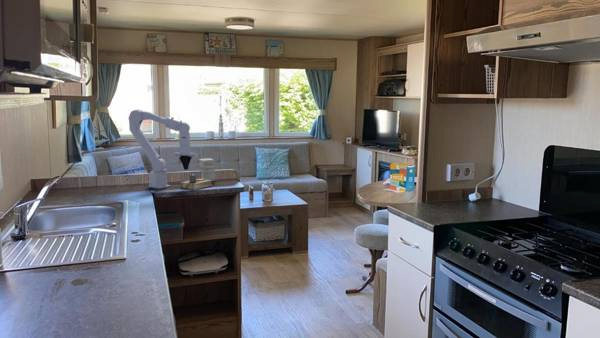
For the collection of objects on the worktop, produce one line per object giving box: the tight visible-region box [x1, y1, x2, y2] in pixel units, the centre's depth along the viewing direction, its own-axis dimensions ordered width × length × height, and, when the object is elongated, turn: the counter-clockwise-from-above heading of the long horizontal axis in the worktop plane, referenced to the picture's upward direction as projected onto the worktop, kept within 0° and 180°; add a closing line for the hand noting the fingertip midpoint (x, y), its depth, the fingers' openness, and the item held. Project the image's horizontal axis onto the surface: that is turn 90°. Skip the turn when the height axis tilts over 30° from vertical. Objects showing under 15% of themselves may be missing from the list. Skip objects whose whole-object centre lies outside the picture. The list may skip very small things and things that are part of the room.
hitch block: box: [180, 178, 213, 191], centre depth 261 cm, size 10×13×3 cm
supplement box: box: [198, 157, 216, 182], centre depth 279 cm, size 7×7×13 cm
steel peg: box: [188, 173, 197, 183], centre depth 259 cm, size 4×4×7 cm
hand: (186, 169), depth 262 cm, fingers closed
